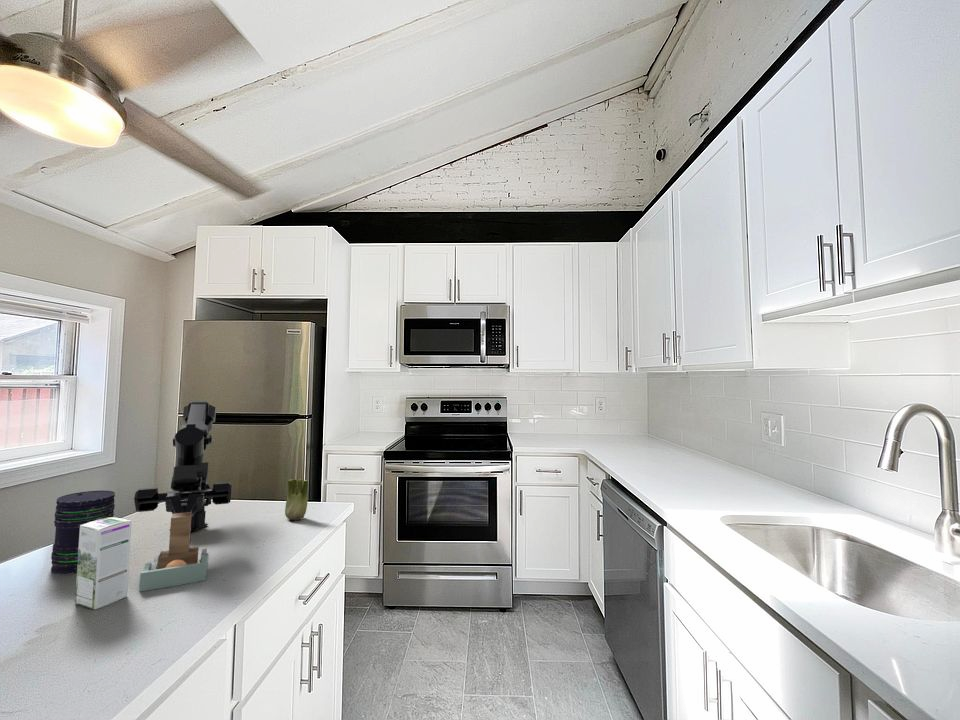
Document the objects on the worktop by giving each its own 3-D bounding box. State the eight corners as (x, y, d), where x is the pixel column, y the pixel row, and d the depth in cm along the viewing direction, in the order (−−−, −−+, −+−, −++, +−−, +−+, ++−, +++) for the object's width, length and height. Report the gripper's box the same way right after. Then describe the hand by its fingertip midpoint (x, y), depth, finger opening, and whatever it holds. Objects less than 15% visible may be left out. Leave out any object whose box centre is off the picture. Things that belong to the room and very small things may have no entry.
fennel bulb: (308, 518, 131) (310, 478, 132) (295, 523, 127) (297, 481, 127) (294, 515, 134) (296, 476, 134) (281, 520, 129) (283, 479, 130)
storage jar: (120, 561, 98) (125, 494, 99) (64, 578, 89) (69, 504, 90) (96, 552, 102) (101, 488, 103) (40, 568, 93) (46, 497, 94)
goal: (144, 578, 90) (145, 561, 90) (207, 568, 95) (208, 552, 96) (139, 591, 84) (140, 573, 85) (205, 580, 90) (206, 563, 90)
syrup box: (128, 596, 83) (134, 519, 83) (92, 611, 77) (98, 528, 78) (109, 590, 85) (114, 515, 85) (72, 605, 79) (78, 524, 80)
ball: (160, 562, 89) (158, 583, 88) (173, 561, 88) (171, 583, 87) (179, 558, 93) (177, 578, 92) (192, 557, 91) (190, 578, 90)
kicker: (159, 565, 95) (163, 514, 96) (197, 559, 98) (201, 510, 99) (157, 572, 91) (160, 519, 92) (196, 566, 95) (199, 515, 96)
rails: (155, 560, 99) (155, 555, 99) (206, 552, 104) (207, 548, 104) (148, 575, 92) (149, 570, 92) (204, 566, 96) (205, 561, 97)
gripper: (138, 453, 98) (124, 516, 88) (233, 449, 107) (230, 505, 97) (142, 481, 104) (129, 543, 94) (231, 475, 114) (228, 530, 103)
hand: (181, 529), depth 97 cm, fingers closed
